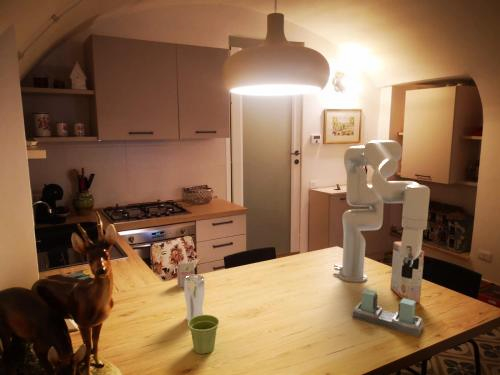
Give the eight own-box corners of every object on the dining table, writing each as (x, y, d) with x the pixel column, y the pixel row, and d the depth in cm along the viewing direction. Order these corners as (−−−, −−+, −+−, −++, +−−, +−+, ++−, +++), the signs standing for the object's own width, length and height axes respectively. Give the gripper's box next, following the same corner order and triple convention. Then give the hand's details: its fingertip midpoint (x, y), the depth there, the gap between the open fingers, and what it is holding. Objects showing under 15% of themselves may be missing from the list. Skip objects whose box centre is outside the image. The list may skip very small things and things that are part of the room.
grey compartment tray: (352, 317, 133) (352, 308, 133) (358, 309, 139) (359, 301, 139) (418, 337, 121) (419, 327, 120) (422, 327, 127) (423, 318, 126)
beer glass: (199, 325, 127) (198, 283, 125) (181, 321, 129) (180, 280, 127) (208, 315, 134) (207, 275, 131) (191, 312, 136) (190, 273, 134)
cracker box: (421, 303, 145) (425, 251, 142) (406, 303, 145) (410, 251, 142) (403, 288, 159) (406, 240, 156) (389, 288, 158) (393, 241, 155)
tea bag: (177, 284, 161) (177, 262, 159) (193, 282, 163) (192, 260, 161) (178, 288, 157) (178, 265, 156) (194, 285, 159) (194, 263, 158)
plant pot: (182, 353, 111) (181, 326, 110) (198, 337, 119) (198, 312, 118) (209, 361, 107) (209, 333, 106) (224, 344, 116) (224, 318, 114)
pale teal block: (400, 316, 129) (401, 297, 128) (414, 320, 126) (415, 301, 125) (397, 321, 126) (398, 301, 125) (411, 325, 123) (412, 305, 122)
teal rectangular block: (360, 311, 133) (362, 292, 132) (364, 307, 136) (365, 288, 135) (373, 314, 130) (374, 295, 129) (377, 310, 133) (378, 291, 132)
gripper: (408, 216, 130) (404, 263, 133) (395, 226, 116) (391, 278, 119) (431, 219, 126) (427, 267, 128) (421, 230, 112) (416, 284, 114)
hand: (410, 272), depth 124 cm, fingers open, 9 cm apart
